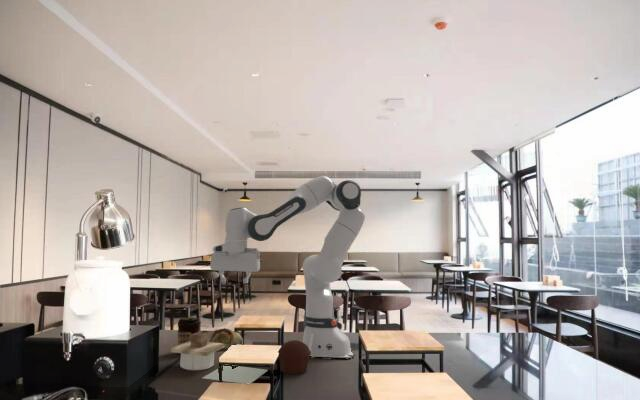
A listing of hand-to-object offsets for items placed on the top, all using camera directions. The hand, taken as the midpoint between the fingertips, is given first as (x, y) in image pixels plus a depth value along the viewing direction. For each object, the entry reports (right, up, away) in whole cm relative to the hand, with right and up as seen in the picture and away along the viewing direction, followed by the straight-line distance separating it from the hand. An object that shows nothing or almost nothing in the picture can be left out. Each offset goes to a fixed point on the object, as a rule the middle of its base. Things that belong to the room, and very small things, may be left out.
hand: (234, 282), depth 170 cm
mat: (+7, -24, -32) cm, 40 cm away
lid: (-7, -18, -24) cm, 31 cm away
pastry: (-5, -28, +5) cm, 29 cm away
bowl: (-8, -24, -25) cm, 36 cm away
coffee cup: (-17, -26, -7) cm, 32 cm away
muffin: (+25, -26, -25) cm, 44 cm away
